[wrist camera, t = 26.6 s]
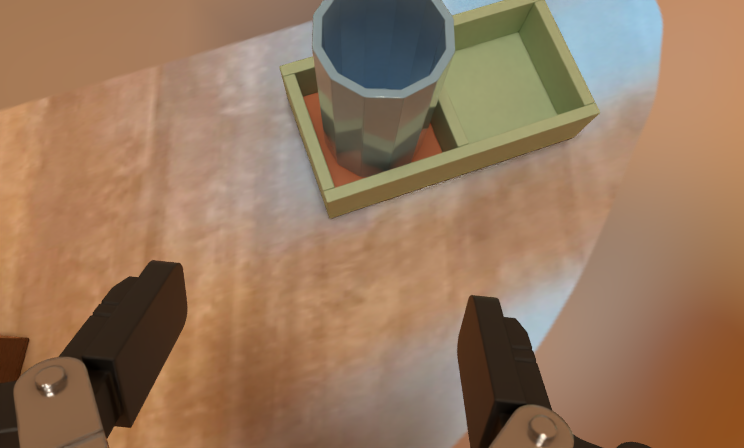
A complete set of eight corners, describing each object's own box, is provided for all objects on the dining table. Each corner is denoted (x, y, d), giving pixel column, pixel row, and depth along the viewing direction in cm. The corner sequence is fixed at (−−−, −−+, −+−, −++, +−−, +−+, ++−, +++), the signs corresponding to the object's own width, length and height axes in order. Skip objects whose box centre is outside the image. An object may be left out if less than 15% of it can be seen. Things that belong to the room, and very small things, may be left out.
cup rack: (574, 137, 32) (600, 112, 28) (329, 218, 30) (326, 203, 26) (521, 25, 34) (539, -11, 30) (286, 95, 32) (278, 65, 28)
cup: (392, 195, 30) (411, 123, 20) (306, 146, 30) (285, 53, 20) (439, 116, 31) (479, 12, 21) (356, 71, 32) (358, -51, 22)
